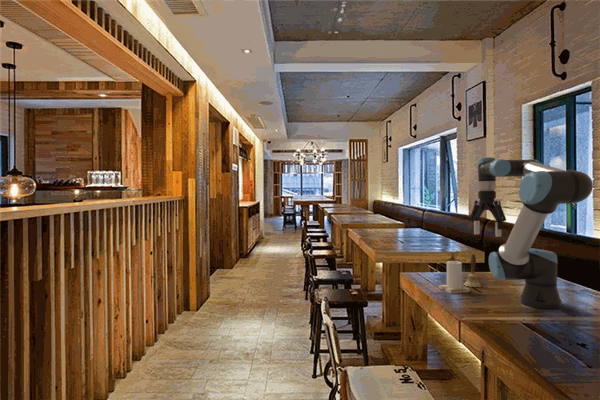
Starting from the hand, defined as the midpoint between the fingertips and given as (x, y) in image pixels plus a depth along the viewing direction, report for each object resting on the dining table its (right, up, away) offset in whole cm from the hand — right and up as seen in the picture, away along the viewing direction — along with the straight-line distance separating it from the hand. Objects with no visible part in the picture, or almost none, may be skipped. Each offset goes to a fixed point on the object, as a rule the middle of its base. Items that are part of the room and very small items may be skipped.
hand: (487, 235), depth 194 cm
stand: (-14, -27, +4) cm, 31 cm away
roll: (-14, -25, +4) cm, 29 cm away
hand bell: (-2, -27, +12) cm, 29 cm away
